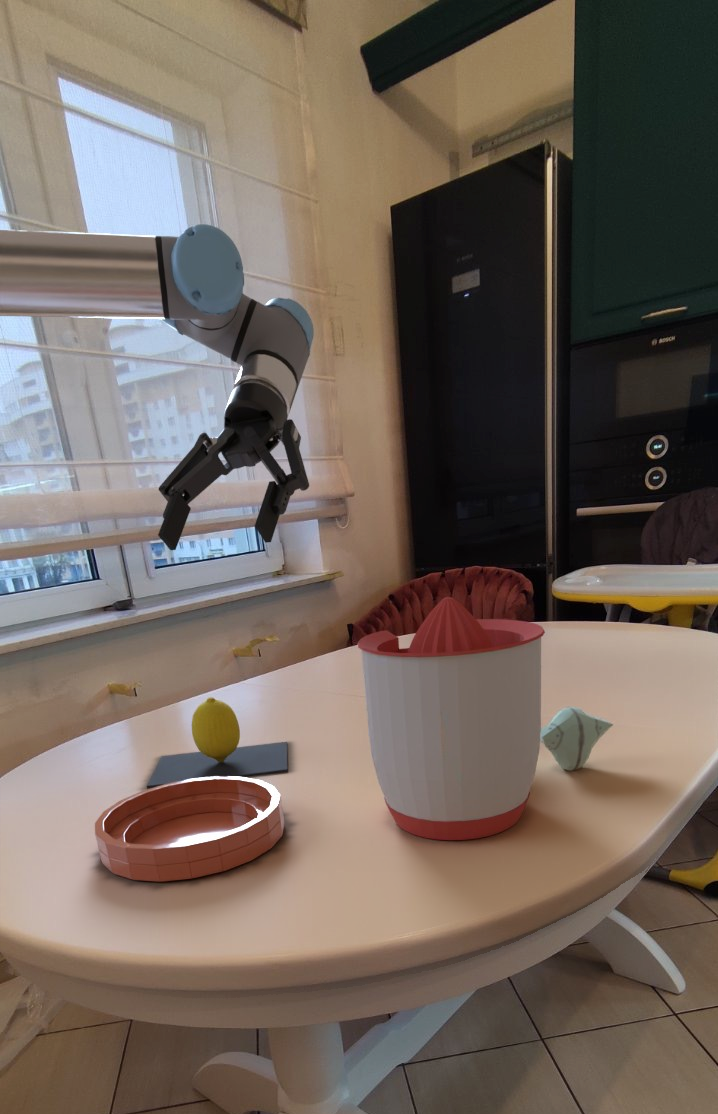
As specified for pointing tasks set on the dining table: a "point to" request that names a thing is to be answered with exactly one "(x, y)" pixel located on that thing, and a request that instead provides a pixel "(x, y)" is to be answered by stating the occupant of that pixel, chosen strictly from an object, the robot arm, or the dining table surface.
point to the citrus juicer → (455, 721)
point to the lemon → (215, 729)
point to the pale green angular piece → (572, 736)
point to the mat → (222, 764)
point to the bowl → (190, 828)
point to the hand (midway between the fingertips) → (213, 538)
